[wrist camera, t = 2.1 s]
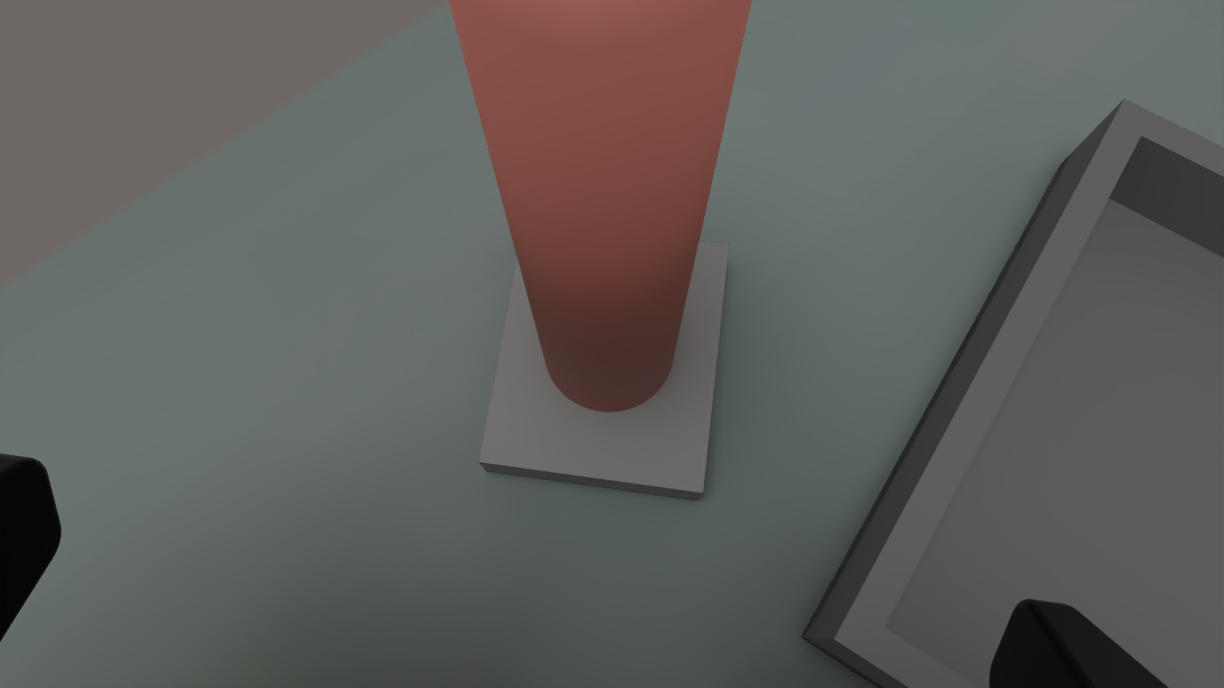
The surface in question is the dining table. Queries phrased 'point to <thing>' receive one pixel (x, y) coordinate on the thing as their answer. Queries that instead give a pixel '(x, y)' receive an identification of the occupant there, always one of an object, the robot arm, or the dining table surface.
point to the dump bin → (1066, 438)
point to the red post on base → (605, 232)
